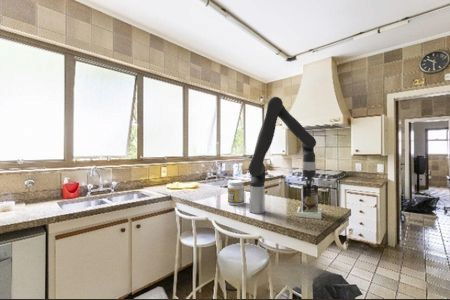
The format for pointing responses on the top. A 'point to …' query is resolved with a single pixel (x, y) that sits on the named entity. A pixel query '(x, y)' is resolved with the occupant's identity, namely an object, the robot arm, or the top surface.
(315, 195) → the coffee box
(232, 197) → the supplement tub
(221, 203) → the top surface
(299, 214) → the holder tray
